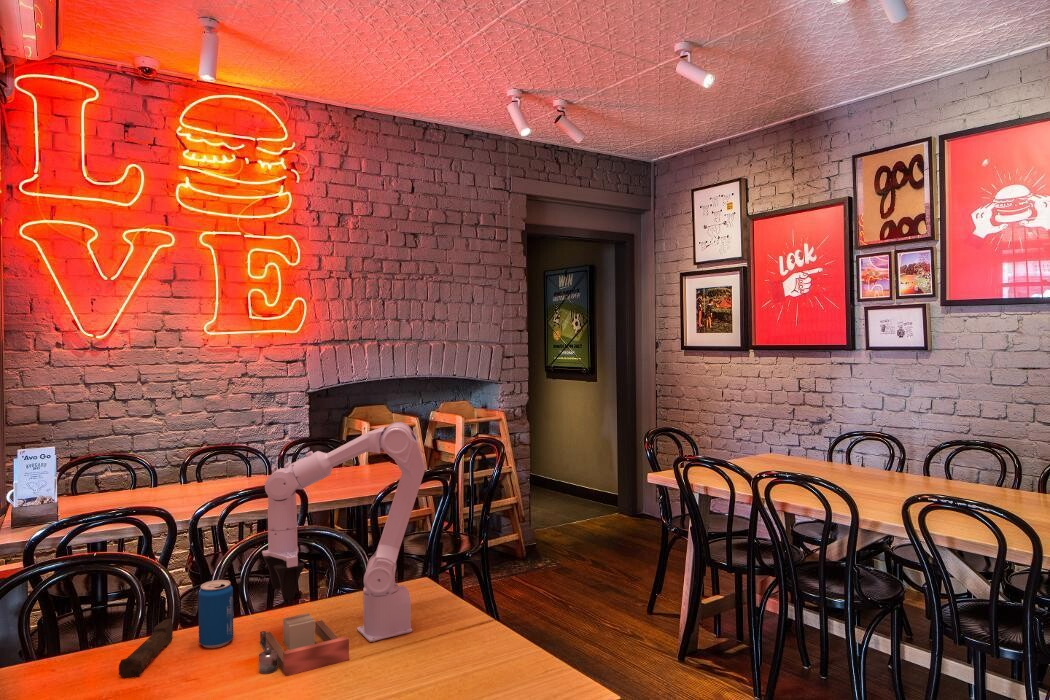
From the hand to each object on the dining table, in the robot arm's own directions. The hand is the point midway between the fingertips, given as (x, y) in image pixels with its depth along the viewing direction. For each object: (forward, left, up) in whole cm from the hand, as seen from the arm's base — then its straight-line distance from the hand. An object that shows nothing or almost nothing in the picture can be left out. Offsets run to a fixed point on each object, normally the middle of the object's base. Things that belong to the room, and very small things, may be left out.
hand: (283, 593), depth 145 cm
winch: (+6, +11, -9) cm, 16 cm away
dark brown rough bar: (+24, -7, -10) cm, 27 cm away
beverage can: (+12, -6, -10) cm, 16 cm away
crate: (-2, +4, -10) cm, 11 cm away
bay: (-2, +8, -9) cm, 12 cm away
